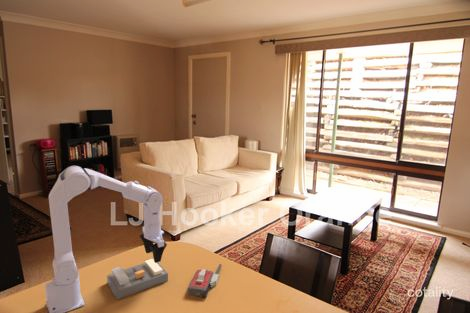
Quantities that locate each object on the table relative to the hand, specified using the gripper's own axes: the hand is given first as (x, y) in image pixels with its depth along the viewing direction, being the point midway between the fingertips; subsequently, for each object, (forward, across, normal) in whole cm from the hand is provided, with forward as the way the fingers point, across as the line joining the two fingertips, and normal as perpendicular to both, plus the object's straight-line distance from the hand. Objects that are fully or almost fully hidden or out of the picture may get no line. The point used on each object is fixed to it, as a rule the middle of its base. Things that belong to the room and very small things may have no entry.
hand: (153, 256), depth 112 cm
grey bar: (+4, 0, +12) cm, 12 cm away
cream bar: (+4, 0, 0) cm, 4 cm away
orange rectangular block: (+5, -2, +6) cm, 8 cm away
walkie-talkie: (+8, -13, -14) cm, 21 cm away
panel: (+8, 0, +6) cm, 10 cm away
